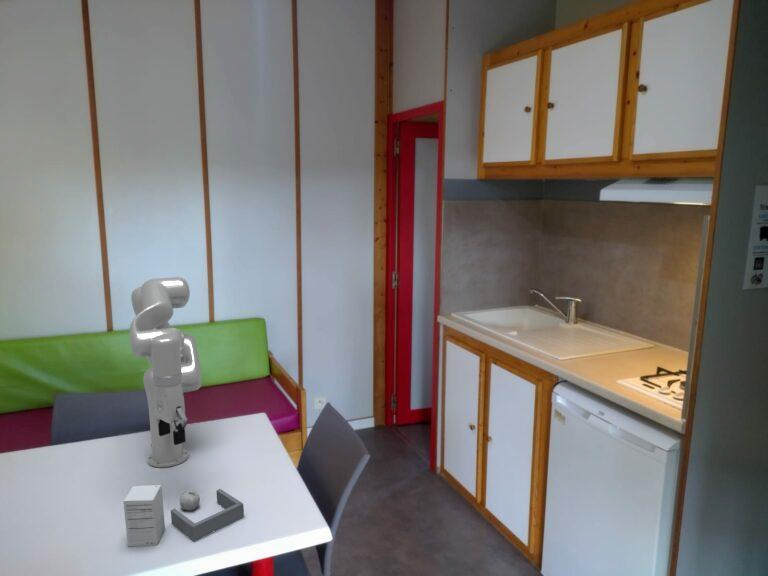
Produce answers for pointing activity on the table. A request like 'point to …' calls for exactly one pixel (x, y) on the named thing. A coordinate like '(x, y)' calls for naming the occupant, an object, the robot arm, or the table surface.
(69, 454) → the table surface
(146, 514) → the supplement box
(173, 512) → the box
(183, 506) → the garlic
